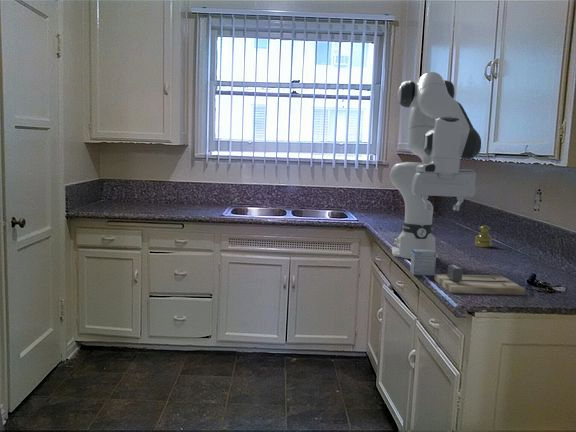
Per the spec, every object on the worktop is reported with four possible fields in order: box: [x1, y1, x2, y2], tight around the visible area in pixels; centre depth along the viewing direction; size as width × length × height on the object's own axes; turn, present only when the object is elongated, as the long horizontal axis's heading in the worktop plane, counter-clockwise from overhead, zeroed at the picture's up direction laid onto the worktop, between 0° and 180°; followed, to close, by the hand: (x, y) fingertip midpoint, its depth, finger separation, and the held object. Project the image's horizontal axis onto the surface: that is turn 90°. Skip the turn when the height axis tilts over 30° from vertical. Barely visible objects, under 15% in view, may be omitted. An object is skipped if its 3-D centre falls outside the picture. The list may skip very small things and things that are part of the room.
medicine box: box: [409, 249, 438, 277], centre depth 184 cm, size 8×4×9 cm, turn 92°
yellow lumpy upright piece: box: [474, 224, 493, 248], centre depth 243 cm, size 7×7×10 cm
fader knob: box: [446, 264, 463, 281], centre depth 169 cm, size 5×3×4 cm, turn 2°
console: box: [433, 273, 526, 296], centre depth 170 cm, size 16×24×2 cm, turn 92°
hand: (441, 210), depth 167 cm, fingers open, 8 cm apart
